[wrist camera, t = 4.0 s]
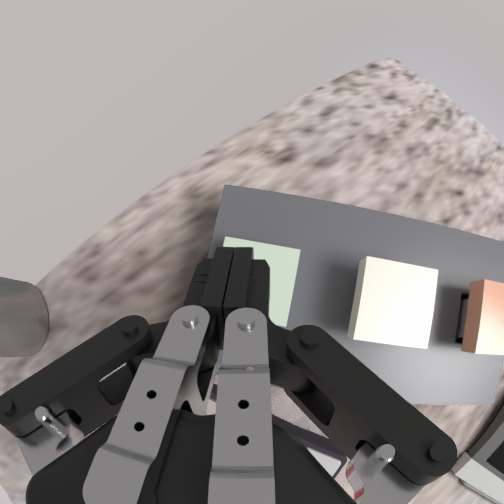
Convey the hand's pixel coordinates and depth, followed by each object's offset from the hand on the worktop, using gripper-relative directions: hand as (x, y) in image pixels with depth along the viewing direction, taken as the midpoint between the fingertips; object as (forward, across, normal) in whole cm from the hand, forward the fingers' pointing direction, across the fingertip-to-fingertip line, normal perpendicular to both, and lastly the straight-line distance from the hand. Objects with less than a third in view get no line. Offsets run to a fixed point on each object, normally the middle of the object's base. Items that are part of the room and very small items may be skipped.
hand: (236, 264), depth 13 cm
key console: (+10, -9, +12) cm, 19 cm away
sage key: (+9, 0, +9) cm, 13 cm away
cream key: (+6, -9, +9) cm, 14 cm away
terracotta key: (+5, -18, +9) cm, 21 cm away
